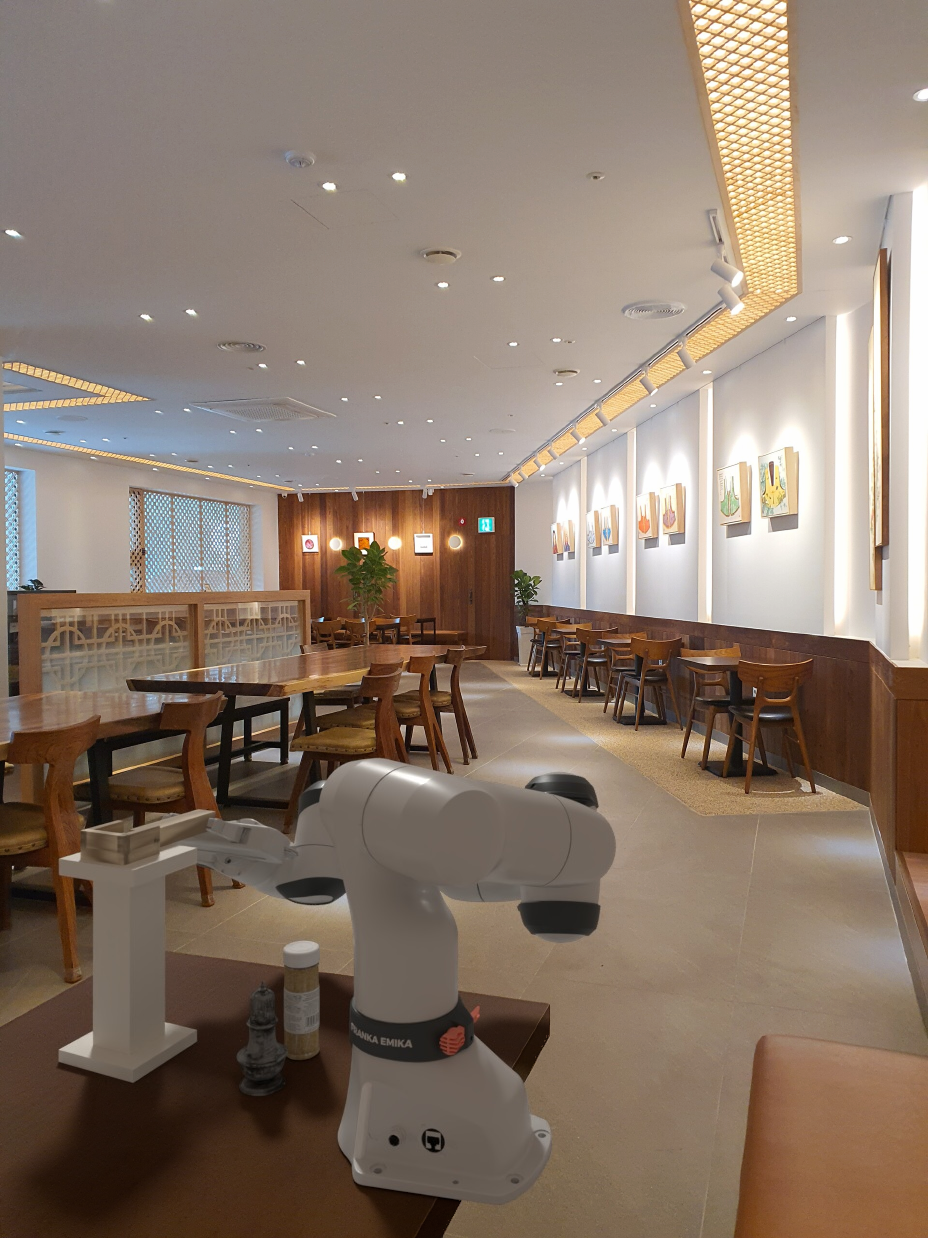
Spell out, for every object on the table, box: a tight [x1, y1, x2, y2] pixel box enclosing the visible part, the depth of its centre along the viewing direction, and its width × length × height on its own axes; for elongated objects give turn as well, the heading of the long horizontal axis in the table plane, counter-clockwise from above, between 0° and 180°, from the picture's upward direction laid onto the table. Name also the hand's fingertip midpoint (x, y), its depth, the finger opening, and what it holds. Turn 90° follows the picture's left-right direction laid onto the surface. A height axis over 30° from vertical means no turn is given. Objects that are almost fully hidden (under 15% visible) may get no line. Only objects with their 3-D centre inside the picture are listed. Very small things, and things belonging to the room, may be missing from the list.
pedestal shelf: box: [58, 844, 198, 1084], centre depth 110 cm, size 12×11×25 cm
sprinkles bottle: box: [282, 940, 321, 1061], centre depth 110 cm, size 5×5×14 cm
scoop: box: [79, 808, 216, 866], centre depth 115 cm, size 7×19×4 cm, turn 156°
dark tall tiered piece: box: [236, 981, 288, 1097], centre depth 103 cm, size 6×6×12 cm
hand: (191, 821), depth 121 cm, fingers open, 5 cm apart
